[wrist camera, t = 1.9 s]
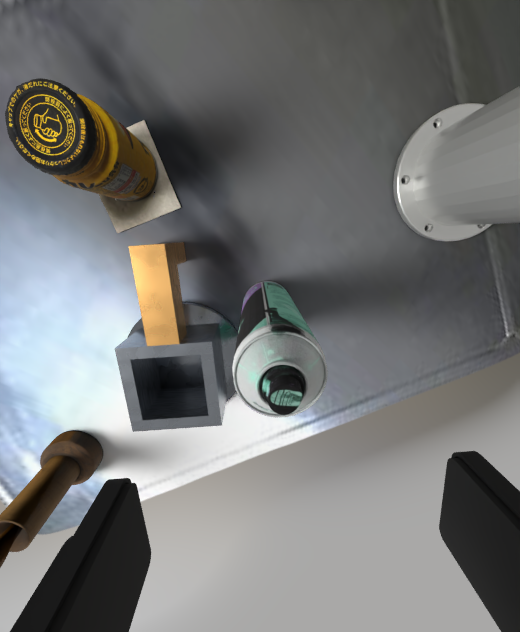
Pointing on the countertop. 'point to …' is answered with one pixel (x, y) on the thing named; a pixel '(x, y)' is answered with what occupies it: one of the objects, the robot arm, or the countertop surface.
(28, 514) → the brown wooden tall piece
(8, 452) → the countertop surface
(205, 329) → the grey square saucepan
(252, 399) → the spray can
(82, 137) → the condiment
